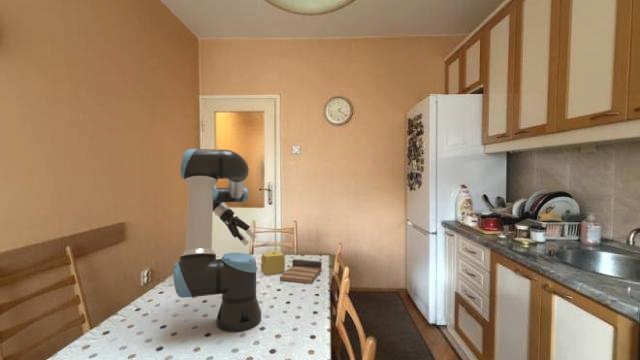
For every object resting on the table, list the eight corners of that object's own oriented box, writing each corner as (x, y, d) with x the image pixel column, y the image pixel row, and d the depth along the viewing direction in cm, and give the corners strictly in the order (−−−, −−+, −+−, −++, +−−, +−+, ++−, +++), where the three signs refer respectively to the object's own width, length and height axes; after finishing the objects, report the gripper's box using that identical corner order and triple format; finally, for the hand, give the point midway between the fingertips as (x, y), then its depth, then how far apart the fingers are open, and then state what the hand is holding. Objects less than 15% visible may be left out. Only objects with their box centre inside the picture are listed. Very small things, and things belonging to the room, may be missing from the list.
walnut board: (311, 283, 137) (311, 273, 137) (279, 280, 141) (279, 270, 141) (321, 270, 157) (321, 261, 157) (293, 268, 161) (293, 259, 161)
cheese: (260, 270, 158) (260, 251, 157) (279, 267, 162) (279, 249, 162) (265, 276, 148) (265, 256, 148) (285, 273, 153) (285, 254, 152)
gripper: (228, 214, 169) (253, 240, 169) (209, 221, 145) (238, 251, 144) (237, 205, 169) (262, 231, 168) (219, 210, 144) (249, 241, 143)
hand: (251, 241), depth 156 cm, fingers open, 13 cm apart
